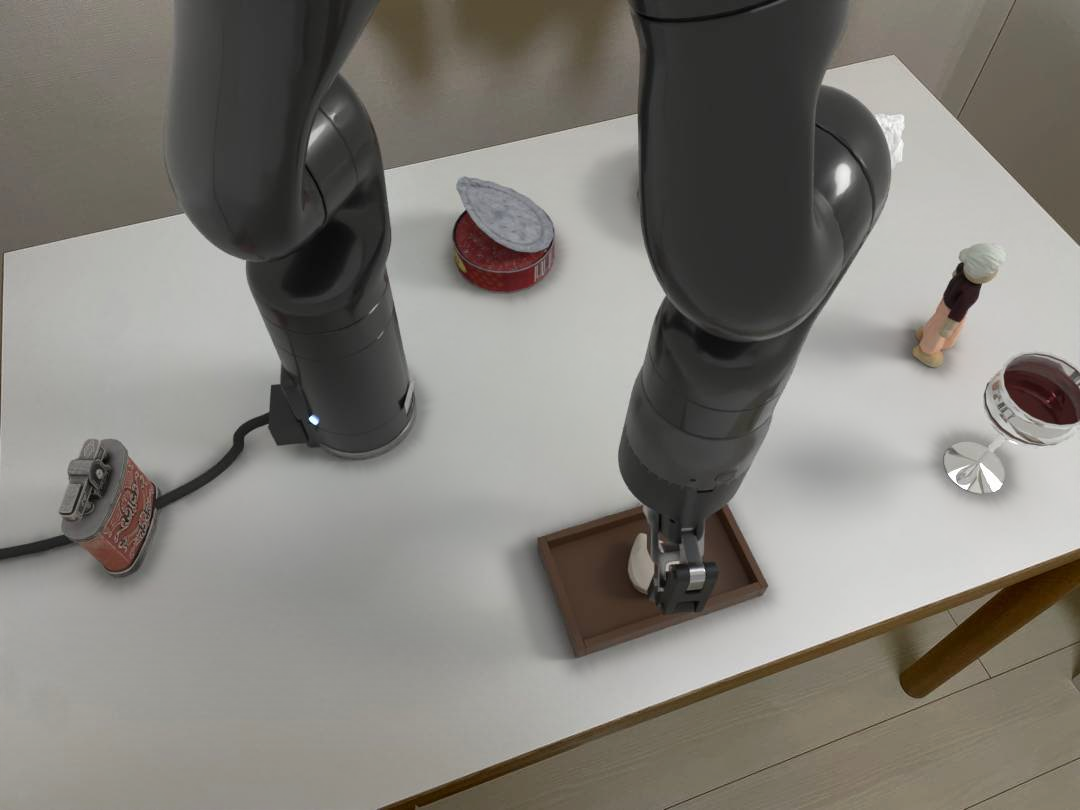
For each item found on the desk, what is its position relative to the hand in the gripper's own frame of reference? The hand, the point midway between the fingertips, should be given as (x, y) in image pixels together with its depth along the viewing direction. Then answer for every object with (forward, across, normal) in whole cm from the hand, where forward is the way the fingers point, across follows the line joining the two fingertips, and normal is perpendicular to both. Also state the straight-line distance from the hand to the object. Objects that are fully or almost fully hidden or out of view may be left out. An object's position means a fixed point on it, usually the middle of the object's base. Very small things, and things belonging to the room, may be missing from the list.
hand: (651, 539), depth 61 cm
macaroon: (+6, 0, +1) cm, 6 cm away
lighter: (+7, -8, -40) cm, 41 cm away
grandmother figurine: (+6, -19, +30) cm, 36 cm away
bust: (+6, -39, +28) cm, 49 cm away
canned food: (+7, -34, -8) cm, 35 cm away
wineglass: (+6, -6, +30) cm, 31 cm away
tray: (+6, 0, +1) cm, 6 cm away
